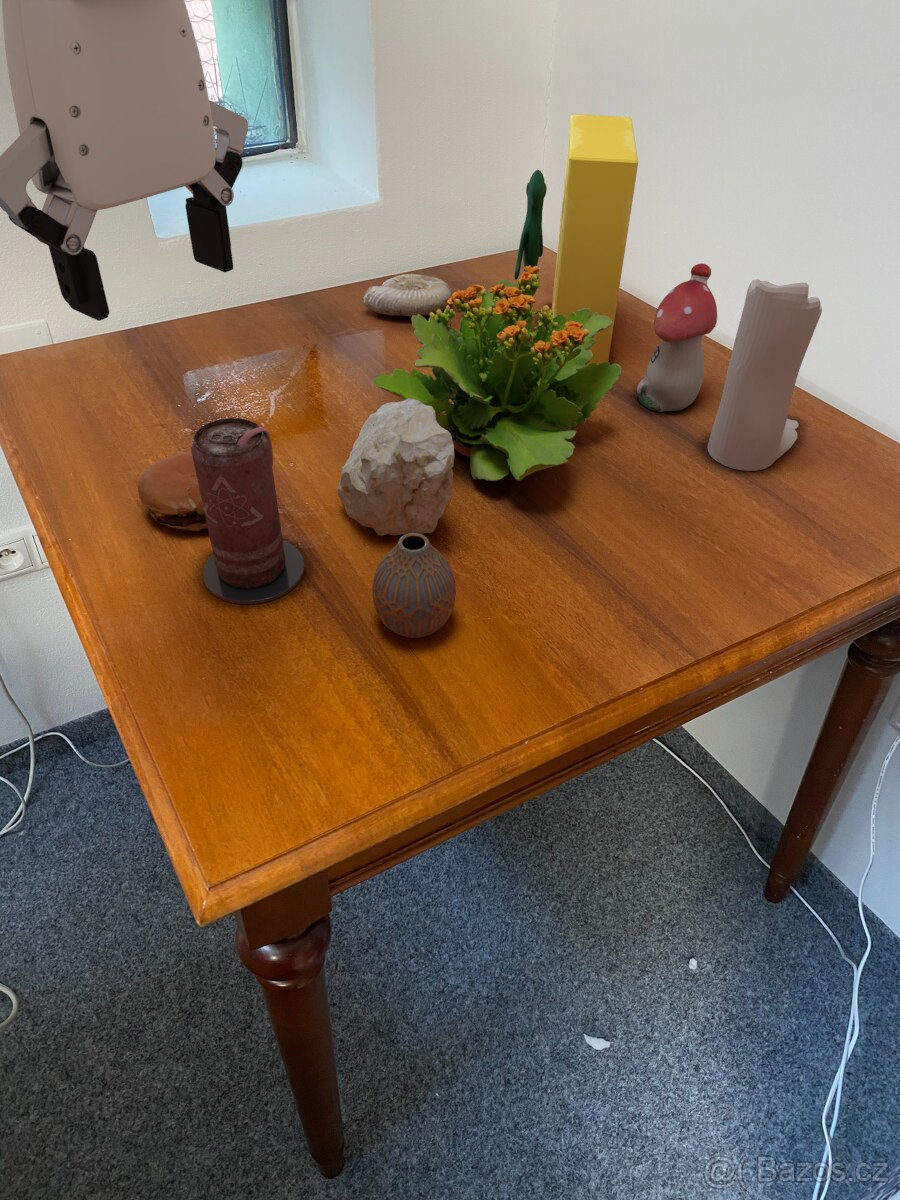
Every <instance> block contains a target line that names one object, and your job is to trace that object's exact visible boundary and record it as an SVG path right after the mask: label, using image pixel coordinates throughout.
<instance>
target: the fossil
mask: <svg viewBox="0 0 900 1200" xmlns="http://www.w3.org/2000/svg"><path fill="white" fill-rule="evenodd" d="M452 294H453V292H452V289H451V288H450V286H449V284H448V283H447V282H446V281H444V280H442V279H440V278H438V277H434V276H429V275H426V274H416V273H415V274H414V273H411V274H409V273H408V274H405V273H404V274H400V275H397V276H394V277H390V278H388V279H386V280H385V281H384V282H383V283H382V284H381V285H380V286H379V285H375V284H371V285H370V286H369V287H368V288H367V289H366V291H365V294H364V295H363V298H362V300H363V305H364V307H365V308H367V309H369V311H373V312H375V313H377V314H380V315H388V316H391V317H392V316H396V317H400V316H402V317H412V316H413V315H416V316H417V315H418V314H420V315H421V316H422V317H426V316H430V313H431V312H432V313H434V314H437V310H438V309H439V310H441V311H444V310H445V309H446V306H447V305H449V306H450V304H447V301H448V300H449V298H450V297H451V296H452Z"/></svg>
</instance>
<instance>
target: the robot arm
mask: <svg viewBox="0 0 900 1200" xmlns="http://www.w3.org/2000/svg"><path fill="white" fill-rule="evenodd" d="M1 9H2V11H1V13H2V26H3V40H4V48H5V58H6V63H7V64H6V65H7V66H6V67H7V72H8V78H9V83H10V84H9V85H10V90H11V95H12V101H13V106H14V113H15V117H16V122H17V126H18V131H19V136H18V137H17V138H16V139H15V140H14V141H13V143H11V145H9V146H8V148H6V149H5V150H4V151H3V152H2V153H1V154H0V209H1V210H2V211H3V212H5V213H6V215H7V217H8V219H9V221H10V222H11V223H13V225H15V226H17V227H18V228H20V229H21V230H23V231H24V232H26V233H27V234H29V235H31V237H34V238H36V239H37V241H38V242H40V243H42V244H44V245H46V246H48V249H49V253H50V257H51V261H52V264H53V268H54V272H55V275H56V279H57V283H58V286H59V287H58V288H59V290H60V294H61V297H62V298H63V299H64V301H65V302H66V303H67V304H68V306H69V307H70V309H72V310H74V311H76V312H78V313H80V314H83V315H84V316H86V317H89V318H91V319H93V320H96V321H98V322H100V321H104V320H105V319H108V317H109V315H110V309H109V304H108V301H107V300H108V299H107V296H106V291H105V286H104V283H103V279H102V275H101V270H100V265H99V262H98V261H99V260H98V257H97V255H96V253H95V252H94V251H93V250H91V249H88V248H86V247H85V243H86V241H87V238H88V236H89V233H90V231H91V228H92V225H93V223H94V221H95V218H96V215H97V213H98V211H101V210H108V209H112V208H115V207H119V206H122V205H126V204H129V203H133V202H137V201H140V200H143V199H147V198H151V197H153V196H157V195H160V194H164V193H167V192H170V191H174V190H177V189H180V188H181V189H182V188H183V187H184V188H186V189H187V190H188V191H189V192H190V193H191V194H192V196H191V197H187V198H185V212H186V219H187V224H188V231H189V232H188V233H189V238H190V243H191V249H192V254H193V259H194V261H195V262H196V263H198V264H202V265H204V266H206V267H210V268H212V269H214V270H217V271H220V272H222V273H228V272H230V271H233V270H234V259H233V253H232V243H231V241H232V240H231V233H230V228H229V220H228V211H227V207H229V206H230V205H231V204H232V203H233V201H234V197H235V195H234V194H235V193H234V190H233V187H234V185H235V183H236V180H237V179H238V176H239V174H240V172H241V170H242V168H243V157H242V156H241V154H243V153H244V148H245V144H246V139H247V134H248V131H249V130H248V129H249V122H248V119H247V118H246V117H245V116H242V115H240V114H238V113H236V112H235V111H232V110H230V109H228V108H226V107H224V106H222V105H220V104H218V103H216V102H214V101H212V100H210V97H209V92H208V88H207V87H208V86H207V83H206V77H205V73H204V68H203V63H202V59H201V54H200V50H199V45H198V43H197V39H196V35H195V31H194V28H193V24H192V21H191V17H190V14H189V10H188V7H187V4H186V0H1ZM215 133H216V138H215ZM215 139H216V140H215ZM30 180H31V181H32V183H33V186H34V187H35V189H36V190H37V191H38V192H41V193H42V194H46V195H47V196H46V197H45V201H44V203H43V206H42V209H39V208H38V207H37V206H36V205H35V203H34V202H33V201H32V198H31V197H30V196H29V194H28V192H27V185H28V183H29V182H30Z"/></svg>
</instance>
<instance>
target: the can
mask: <svg viewBox="0 0 900 1200" xmlns="http://www.w3.org/2000/svg"><path fill="white" fill-rule="evenodd" d="M192 439H193V441H192V444H191V446H190V452H192V457H193V462H194V466H195V471H196V476H197V480H198V485H199V490H200V494H201V499H202V504H203V508H204V513H205V518H206V522H207V527H208V528H207V531H208V536H209V541H210V545H211V549H212V554H213V555H214V560H215V564H216V569H217V573H218V575H219V576H220V577H221V578H222V579H223V580H224V581H225V582H227V583H228V584H230V585H232V586H234V587H238V588H248V589H252V588H257V587H262V586H264V585H267V584H269V583H271V582H272V581H274V580H275V579H276V578H277V577H278V576H279V574H280V573H281V572H282V570H283V569H284V566H285V562H286V560H285V553H284V546H283V533H282V532H283V531H282V525H281V519H280V512H279V504H278V499H277V490H276V484H275V477H274V469H273V466H274V449H273V445H272V440H271V434H270V432H269V431H268V430H267V428H266V427H262V426H260V425H259V424H258V423H257V422H254V421H252V420H251V419H246V418H242V417H241V418H240V417H227V418H220V419H215V420H212V421H210V422H207V423H206V424H204V425H202V426H200V427H199V428H198V429H197V430H196V431H195V432H194V435H193V438H192Z"/></svg>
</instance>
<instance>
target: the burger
mask: <svg viewBox="0 0 900 1200" xmlns="http://www.w3.org/2000/svg"><path fill="white" fill-rule="evenodd" d="M137 492H138V498H139V499H140V501H141V503H142V504H143V506H144V507H145V508H146V509H147V511H148V513H149V514H150V516H151V518H153V520H154V521H155V522H156V523H157V524H160V525H164V526H167V527H171V528H173V529H177V530H189V531H193V532H195V531H196V532H198V531H201V530H203V529H208V527H207V522H206V518H205V513H204V508H203V504H202V499H201V494H200V490H199V485H198V480H197V476H196V471H195V466H194V462H193V457H192V452H191V451H183V452H179V453H178V452H177V453H174V454H170V455H168V456H166V457H163V458H161V459H159V460H157V461H155V462H154V463H152V464H151V465H150V466H149V467H147V468H146V469H145V471H144V472H143V474H142V475H141V476H140V478H139V481H138V484H137Z"/></svg>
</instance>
